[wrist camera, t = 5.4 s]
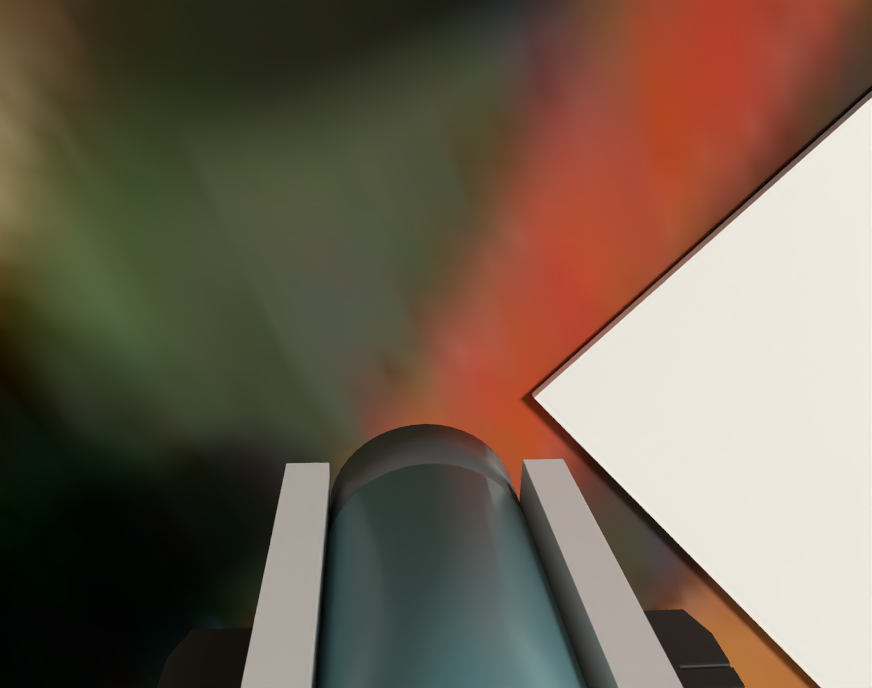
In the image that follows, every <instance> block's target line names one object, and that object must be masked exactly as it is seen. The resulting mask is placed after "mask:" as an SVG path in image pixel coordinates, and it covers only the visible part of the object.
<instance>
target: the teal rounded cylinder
mask: <svg viewBox="0 0 872 688" xmlns="http://www.w3.org/2000/svg"><path fill="white" fill-rule="evenodd" d="M316 688H588V687H587V685H586V682H585V679H584V676H583V674H582V671H581V668H580V666H579V663H578V660H577V658H576V655H575V652H574V649H573V647H572V644H571V641H570V639H569V636H568V633H567V630H566V628H565V625H564V622H563V620H562V617H561V614H560V611H559V609H558V606H557V603H556V601H555V598H554V595H553V592H552V590H551V587H550V584H549V582H548V579H547V576H546V574H545V571H544V568H543V565H542V563H541V560H540V557H539V555H538V552H537V549H536V546H535V544H534V541H533V538H532V536H531V533H530V530H529V527H528V525H527V522H526V519H525V517H524V514H523V511H522V508H521V506H520V503H519V500H518V498H517V495H516V492H515V490H514V487H513V484H512V481H511V479H510V476H509V474H508V472H507V470H506V467H505V465H504V464H503V462H502V461H501V460H500V458H499V457H498V456H497V454H496V453H495V452H494V451H493V450H492V449H491V448H490V447H489V446H487V445H486V444H485V443H484V442H483V441H481V440H479V439H478V438H476V437H475V436H473V435H471V434H469V433H466V432H464V431H462V430H459V429H456V428H452V427H448V426H442V425H433V424H420V425H410V426H405V427H400V428H397V429H394V430H390V431H388V432H385V433H383V434H381V435H379V436H377V437H375V438H373V439H372V440H370V441H368V442H367V443H365V444H364V445H363V446H362V447H360V448H359V449H358V450H357V451H356V452H355V453H354V454H353V455H352V456H351V457H350V458H349V459H348V460H347V462H346V463H345V464H344V466H343V467H342V468H341V470H340V472H339V474H338V476H337V478H336V480H335V483H334V485H333V488H332V492H331V497H330V517H329V529H328V542H327V554H326V567H325V579H324V592H323V604H322V617H321V629H320V642H319V655H318V667H317V680H316Z"/></svg>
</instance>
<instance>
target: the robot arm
mask: <svg viewBox="0 0 872 688" xmlns="http://www.w3.org/2000/svg"><path fill="white" fill-rule="evenodd" d="M519 503H520V506H521V508H522V511H523V514H524V517H525V519H526V522H527V525H528V527H529V530H530V533H531V536H532V538H533V541H534V544H535V546H536V549H537V552H538V555H539V557H540V560H541V563H542V565H543V568H544V571H545V574H546V576H547V579H548V582H549V584H550V587H551V590H552V592H553V595H554V598H555V601H556V603H557V606H558V609H559V611H560V614H561V617H562V620H563V622H564V625H565V628H566V630H567V633H568V636H569V639H570V641H571V644H572V647H573V649H574V652H575V655H576V658H577V660H578V663H579V666H580V668H581V671H582V674H583V676H584V679H585V682H586V685H587V687H588V688H745V686H744V684H743V682H742V681H741V679H740V678H739V676H738V674H737V673H736V671H735V670H734V668H731V667H730V662H729V660H728V659H727V657H726V655H725V654H724V652H723V651H722V649H721V647H720V646H719V644H718V643H717V641H716V639H715V638H714V636H713V635H712V633H711V632H709V631H708V630H707V629H706V628H705V627H703V626H702V625H701V624H700V623H699V622H697V621H696V620H695V619H694V618H693V617H692V616H690V615H689V614H688V613H687V612H686V611H684V610H683V609H681V610H653V611H643V610H642V608H641V606H640V604H639V602H638V601H637V599H636V597H635V595H634V593H633V591H632V589H631V587H630V585H629V583H628V582H627V580H626V578H625V576H624V574H623V572H622V570H621V568H620V566H619V564H618V563H617V561H616V559H615V557H614V555H613V553H612V551H611V549H610V547H609V545H608V544H607V542H606V540H605V538H604V536H603V534H602V532H601V530H600V528H599V526H598V525H597V523H596V521H595V519H594V517H593V515H592V513H591V511H590V509H589V507H588V506H587V504H586V502H585V500H584V498H583V496H582V494H581V492H580V490H579V488H578V487H577V485H576V483H575V481H574V479H573V477H572V475H571V473H570V471H569V469H568V468H567V466H566V464H565V462H564V460H563V459H538V460H523V466H522V478H521V490H520V502H519ZM329 517H330V482H329V463H286V468H285V473H284V478H283V483H282V488H281V493H280V498H279V502H278V507H277V512H276V517H275V522H274V527H273V532H272V537H271V542H270V547H269V552H268V556H267V561H266V566H265V571H264V576H263V581H262V586H261V591H260V596H259V601H258V606H257V610H256V615H255V620H254V625H253V628H229V629H202V630H191V631H190V633H189V634H188V635H187V636H186V637H185V638H184V639H183V641H182V642H181V643H180V644H179V645H178V646H177V647H176V649H175V650H174V651H173V652H172V653H171V654H170V655H169V656H168V658H167V660H166V663H165V666H164V669H163V672H162V675H161V678H160V681H159V684H158V687H157V688H316V680H317V667H318V655H319V642H320V629H321V617H322V604H323V592H324V579H325V567H326V554H327V542H328V529H329Z"/></svg>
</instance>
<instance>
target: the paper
mask: <svg viewBox="0 0 872 688" xmlns="http://www.w3.org/2000/svg"><path fill="white" fill-rule="evenodd" d="M532 395H533V397H534V398H535V399H536V400H537V401H538V402H539V403H540V404H541V405H542V406H543V408H544V409H545V410H546V411H547V412H548V413H549V414H550V415H551V416H552V417H553V418H554V419H555V420H556V421H557V422H558V423H559V424H560V425H561V426H562V427H563V428H564V429H565V430H566V431H567V432H568V433H569V434H570V435H571V436H572V437H573V438H574V439H575V440H576V441H577V442H578V443H579V444H580V445H581V446H582V447H583V448H584V449H585V450H586V451H587V452H588V453H589V454H590V455H591V456H592V457H593V458H594V459H595V460H596V461H597V462H598V463H599V464H600V465H601V466H602V467H603V468H604V469H605V470H606V471H607V472H608V473H609V474H610V475H611V476H612V477H613V478H614V479H615V480H616V481H617V482H618V483H619V484H620V485H621V486H622V487H623V488H624V489H625V490H626V491H627V492H628V493H629V494H630V495H631V496H632V497H633V498H634V499H635V500H636V501H637V502H638V503H639V504H640V505H641V506H642V507H643V508H644V510H645V511H646V512H647V513H648V514H649V515H650V516H651V517H652V518H653V519H654V520H655V521H656V522H657V523H658V524H659V525H660V526H661V527H662V528H663V529H664V530H665V531H666V532H667V533H668V534H669V535H670V536H671V537H672V538H673V539H674V540H675V541H676V542H677V543H678V544H679V545H680V546H681V547H682V548H683V549H684V550H685V551H686V552H687V553H688V554H689V555H690V556H691V557H692V558H693V559H694V560H695V561H696V562H697V563H698V564H699V565H700V566H701V567H702V568H703V569H704V570H705V571H706V572H707V573H708V574H709V575H710V576H711V577H712V578H713V579H714V580H715V581H716V582H717V583H718V584H719V585H720V586H721V587H722V588H723V589H724V590H725V591H726V592H727V593H728V594H729V595H730V596H731V597H732V598H733V599H734V600H735V601H736V602H737V603H738V604H739V605H740V606H741V607H742V608H743V609H744V610H745V612H746V613H747V614H748V615H749V616H750V617H751V618H752V619H753V620H754V621H755V622H756V623H757V624H758V625H759V626H760V627H761V628H762V629H763V630H764V631H765V632H766V633H767V634H768V635H769V636H770V637H771V638H772V639H773V640H774V641H775V642H776V643H777V644H778V645H779V646H780V647H781V648H782V649H783V650H784V651H785V652H786V653H787V654H788V655H789V656H790V657H791V658H792V659H793V660H794V661H795V662H796V663H797V664H798V665H799V666H800V667H801V668H802V669H803V670H804V671H805V672H806V673H807V674H808V675H809V676H810V677H811V678H812V679H813V680H814V681H815V682H816V683H817V684H818V685H819V686H820V687H821V688H872V91H871V92H869V93H868V94H867V95H866V96H865V97H864V98H863V99H862V100H861V101H859V102H858V103H857V104H856V105H855V106H854V107H853V108H852V109H850V110H849V111H848V112H847V113H846V114H845V115H844V116H843V117H841V118H840V119H839V120H838V121H837V122H836V123H835V124H834V125H832V126H831V127H830V128H829V129H828V130H827V131H826V132H825V133H823V134H822V135H821V136H820V137H819V138H818V139H817V140H816V141H815V142H813V143H812V144H811V145H810V146H809V147H808V148H807V149H806V150H804V151H803V152H802V153H801V154H800V155H799V156H798V157H797V158H795V159H794V160H793V161H792V162H791V163H790V164H789V165H788V166H786V167H785V168H784V169H783V170H782V171H781V172H780V173H779V174H777V175H776V176H775V177H774V178H773V179H772V180H771V181H770V182H768V183H767V184H766V185H765V186H764V187H763V188H762V189H761V190H760V191H758V192H757V193H756V194H755V195H754V196H753V197H752V198H751V199H749V200H748V201H747V202H746V203H745V204H744V205H743V206H742V207H740V208H739V209H738V210H737V211H736V212H735V213H734V214H733V215H731V216H730V217H729V218H728V219H727V220H726V221H725V222H724V223H722V224H721V225H720V226H719V227H718V228H717V229H716V230H715V231H714V232H712V233H711V234H710V235H709V236H708V237H707V238H706V239H705V240H703V241H702V242H701V243H700V244H699V245H698V246H697V247H696V248H694V249H693V250H692V251H691V252H690V253H689V254H688V255H687V256H685V257H684V258H683V259H682V260H681V261H680V262H679V263H678V264H676V265H675V266H674V267H673V268H672V269H671V270H670V271H669V272H667V273H666V274H665V275H664V276H663V277H662V278H661V279H660V280H659V281H657V282H656V283H655V284H654V285H653V286H652V287H651V288H650V289H648V290H647V291H646V292H645V293H644V294H643V295H642V296H641V297H639V298H638V299H637V300H636V301H635V302H634V303H633V304H632V305H630V306H629V307H628V308H627V309H626V310H625V311H624V312H623V313H621V314H620V315H619V316H618V317H617V318H616V319H615V320H614V321H613V322H611V323H610V324H609V325H608V326H607V327H606V328H605V329H604V330H602V331H601V332H600V333H599V334H598V335H597V336H596V337H595V338H593V339H592V340H591V341H590V342H589V343H588V344H587V345H586V346H584V347H583V348H582V349H581V350H580V351H579V352H578V353H577V354H575V355H574V356H573V357H572V358H571V359H570V360H569V361H568V362H566V363H565V364H564V365H563V366H562V367H561V368H560V369H559V370H558V371H556V372H555V373H554V374H553V375H552V376H551V377H550V378H549V379H547V380H546V381H545V382H544V383H543V384H542V385H541V386H540V387H538V388H537V389H536V390H535V391H534V392H533V393H532Z"/></svg>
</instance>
